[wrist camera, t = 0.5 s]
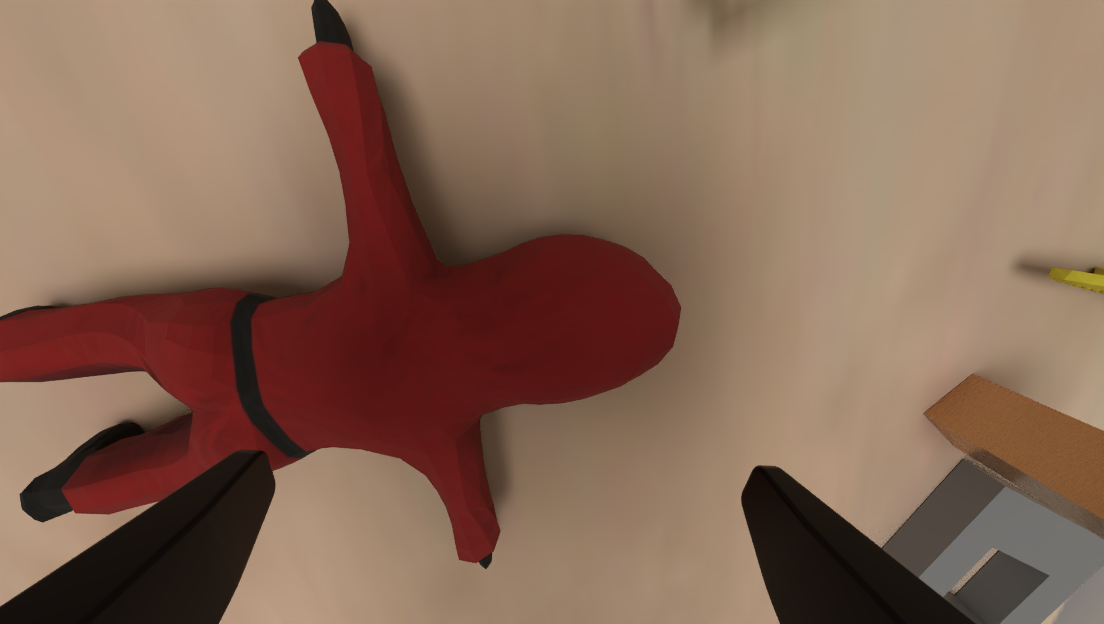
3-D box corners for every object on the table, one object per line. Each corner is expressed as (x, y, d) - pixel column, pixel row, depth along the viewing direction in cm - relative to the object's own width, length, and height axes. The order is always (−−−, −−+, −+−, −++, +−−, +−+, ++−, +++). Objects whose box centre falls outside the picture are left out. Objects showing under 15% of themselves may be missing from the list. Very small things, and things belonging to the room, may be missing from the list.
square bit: (954, 446, 26) (1279, 649, 15) (923, 413, 26) (1241, 600, 14) (1002, 408, 26) (1380, 590, 14) (972, 374, 25) (1346, 536, 14)
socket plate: (946, 640, 31) (980, 678, 29) (840, 594, 29) (867, 630, 27) (1071, 517, 28) (1121, 548, 26) (962, 459, 27) (1005, 486, 24)
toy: (209, 579, 28) (674, 494, 27) (75, 742, 20) (733, 625, 19) (-51, 104, 19) (607, -32, 19) (-461, 49, 11) (661, -189, 11)
